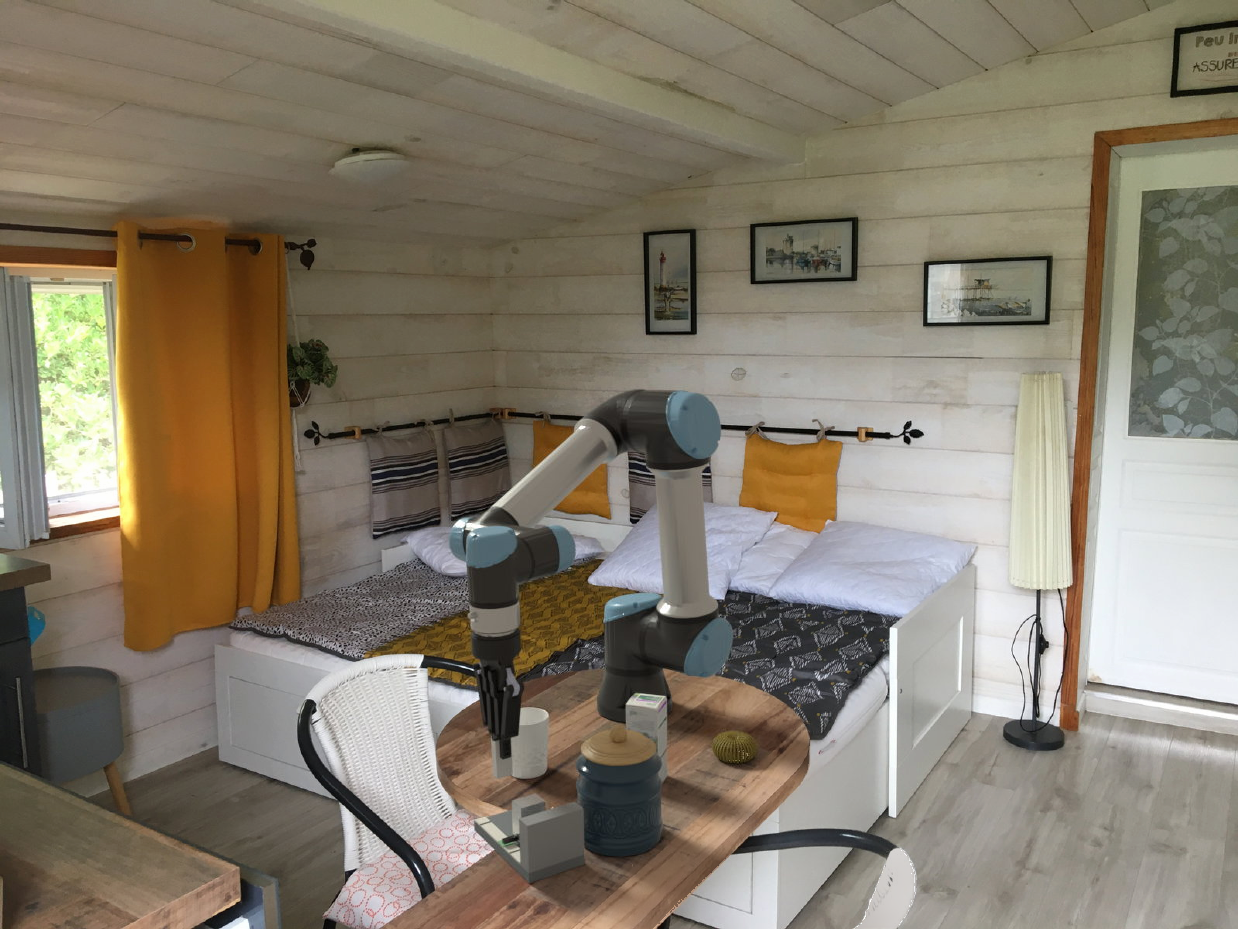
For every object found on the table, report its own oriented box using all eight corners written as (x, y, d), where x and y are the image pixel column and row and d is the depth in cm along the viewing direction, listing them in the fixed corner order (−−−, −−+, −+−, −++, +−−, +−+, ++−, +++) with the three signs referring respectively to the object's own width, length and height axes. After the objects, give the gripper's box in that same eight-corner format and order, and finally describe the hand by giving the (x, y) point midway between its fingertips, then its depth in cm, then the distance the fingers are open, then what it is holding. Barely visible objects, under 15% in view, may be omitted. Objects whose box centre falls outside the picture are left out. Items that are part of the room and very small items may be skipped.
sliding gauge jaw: (498, 841, 150) (497, 804, 149) (536, 829, 153) (535, 793, 152) (507, 850, 147) (506, 812, 146) (546, 837, 151) (545, 801, 150)
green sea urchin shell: (715, 746, 177) (708, 728, 185) (715, 768, 177) (709, 749, 185) (761, 744, 177) (752, 726, 185) (761, 766, 178) (752, 747, 186)
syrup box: (668, 775, 174) (667, 694, 172) (658, 790, 169) (657, 707, 167) (636, 771, 176) (635, 690, 174) (625, 786, 171) (624, 703, 169)
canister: (559, 839, 154) (556, 727, 151) (616, 807, 163) (614, 702, 161) (623, 869, 145) (621, 751, 143) (680, 834, 155) (679, 723, 152)
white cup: (543, 782, 173) (541, 726, 171) (498, 779, 174) (496, 723, 173) (555, 762, 180) (553, 708, 179) (512, 759, 182) (510, 706, 180)
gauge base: (474, 830, 157) (472, 778, 155) (526, 814, 161) (525, 763, 160) (529, 883, 142) (527, 826, 140) (584, 864, 146) (583, 808, 145)
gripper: (454, 623, 158) (463, 766, 162) (492, 645, 147) (500, 798, 151) (498, 614, 162) (505, 753, 166) (537, 635, 151) (544, 784, 155)
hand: (502, 775), depth 158 cm, fingers closed
